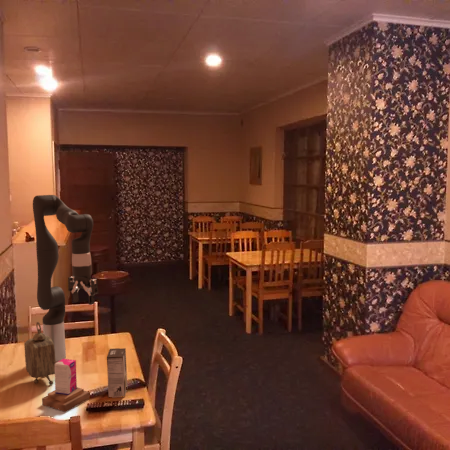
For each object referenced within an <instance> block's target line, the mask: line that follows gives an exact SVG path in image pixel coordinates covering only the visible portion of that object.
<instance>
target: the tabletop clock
mask: <svg viewBox="0 0 450 450" xmlns="http://www.w3.org/2000/svg"><path fill="white" fill-rule="evenodd" d="M35 323H36V330H37V333H35V334H34V335H33V337H32V338H28V339H27V340H26V341H24V344H23V345H24V359H25V360H24V362H25V367H26V372H27V373H28V375H29V377H31V378H34V381H33V382H34V384H38V382H39V380H38V379H39V378H44V377H45V378H46V379H47V380H48V384H49V385H51V386H52V385H53V384H54V381H53V380H51V378H50V376H51V375H52V376H53V375H55V365H54V364H55V363H56V362H55V349H54V344H53V341H52V340H51V338H50V337H49V336H45V334H43V332H42V327H41V326H42V325H41V324H40V322H39V321H36V322H35Z"/></svg>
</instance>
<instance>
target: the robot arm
mask: <svg viewBox="0 0 450 450" xmlns="http://www.w3.org/2000/svg"><path fill="white" fill-rule="evenodd" d="M32 214H33V220H34V226H35V228H34V229H35V243H36V244H35V247H36V262H37V287H36V289H37V290H36V299H37V305H38V307H39V308H40V309H41V310H43V311H47V313H45V314H44V315H43V317H42V331H43V332H42V333H43V334H45V336H49V337H50V338H51V340H52V341H53V344H54V349H55V363H57V362H59V361H60V360H62V359H67V358H66V357H67V353H66V337H65V336H66V335H65V334H66V332H65V331H66V330H65V315H66V296H65V292H64V290H63V288H62V287H60V286H57V285H56V286H52V278H53V275H54V273H55V270H56V267H57V265H58V263H59V258H60V256H59V245H58V242H57V241H56V239H55V238H54V236H53V235H52V233H51V231H50V230H49V229H48V227H47V224H46V222H45V217H47V216H49V217H50V216H55V217H56V219H57V220H58V222H59V223H61V224H63V225H64V226H65V228H66V230H67V231H68V233H72V234H75V233H76V234H77V233H81V234H80V236H78V237H76V238H73V239H72V240H71V269H72V276H69V277H68V280H67V285H68V286H67V287H68V290H67V291H68V292H70V293H71V294H72V302H73V303H77V302H78V303H79V300H80V299H79V290H80V289H81V290H84V291H85V292H86V293H87V294H88V305H90V306H91V305H94V304H95V295H97V294H99V286H98V279H97V278H93V279H92V278H91V276H92V274H93V271H92V270H93V268H92V256H91V244H90V243H91V238H92V232H93V228H94V219H93V218H92V215H90V214H88V213H84V214H79V213H78V212H77V211H76V210H74V209H72V208H70V207H68V206H67V205H66V204H65V203H64V202H63V201H62V200H61V199H60V197H58V196H57V195H55V194H41V195H35V196H34V197H33V200H32Z"/></svg>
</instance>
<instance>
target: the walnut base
mask: <svg viewBox="0 0 450 450" xmlns="http://www.w3.org/2000/svg"><path fill="white" fill-rule="evenodd" d="M90 395H91V393H90V391H86V390H84V388H82V387H78V386H77V389H76V390H74V391H73V392H72V393H70V394H69V395H63V394H55V389H54V390H52V391H50V392H48V393H47V395H45V396H44V397H42V398H41V404H42V406H45V407H49V408H52V409H55V410H59V411H61V412H64V413H67V412H68V411H70V410H72V409H74V408H75V407H77V406H79V405H80V404H82V403H84V402H86V401H88V400H90V399H89V396H90ZM90 397H91V396H90Z"/></svg>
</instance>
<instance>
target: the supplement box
mask: <svg viewBox="0 0 450 450" xmlns="http://www.w3.org/2000/svg"><path fill="white" fill-rule="evenodd" d="M54 365H55V374H54V385H55V386H54V390H55V394H63V395H69V394H70V393H72V392H73V391H74V390H76V389H77V387H78V385H77V384H78V383H77V382H78V381H77V360H76V359H68V358H65V359H62V360H60V361H57V362H55V364H54Z"/></svg>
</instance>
